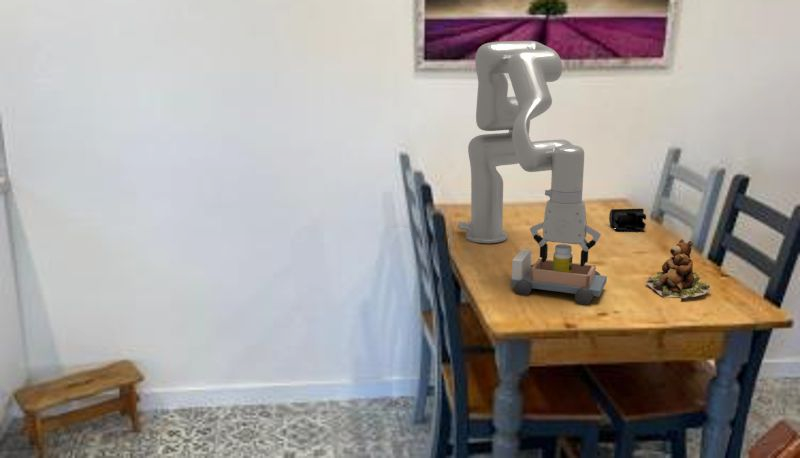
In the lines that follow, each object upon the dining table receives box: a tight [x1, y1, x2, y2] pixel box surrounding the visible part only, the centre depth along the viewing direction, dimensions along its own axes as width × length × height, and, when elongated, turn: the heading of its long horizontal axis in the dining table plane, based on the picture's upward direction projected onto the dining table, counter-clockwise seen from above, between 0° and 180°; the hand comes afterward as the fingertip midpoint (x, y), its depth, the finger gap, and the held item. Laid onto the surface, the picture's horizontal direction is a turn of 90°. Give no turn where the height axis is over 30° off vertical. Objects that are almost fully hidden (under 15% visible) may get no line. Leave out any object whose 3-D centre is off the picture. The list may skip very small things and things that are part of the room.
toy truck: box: [509, 248, 608, 306], centre depth 194 cm, size 22×14×8 cm, turn 67°
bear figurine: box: [645, 239, 712, 299], centre depth 194 cm, size 14×15×12 cm
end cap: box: [608, 208, 647, 233], centre depth 244 cm, size 10×7×7 cm
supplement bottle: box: [552, 243, 574, 273], centre depth 193 cm, size 5×5×8 cm
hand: (563, 262), depth 193 cm, fingers open, 9 cm apart
